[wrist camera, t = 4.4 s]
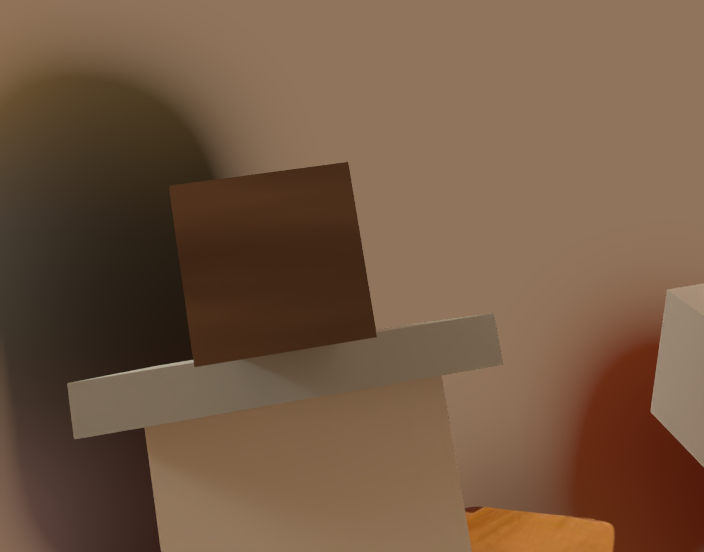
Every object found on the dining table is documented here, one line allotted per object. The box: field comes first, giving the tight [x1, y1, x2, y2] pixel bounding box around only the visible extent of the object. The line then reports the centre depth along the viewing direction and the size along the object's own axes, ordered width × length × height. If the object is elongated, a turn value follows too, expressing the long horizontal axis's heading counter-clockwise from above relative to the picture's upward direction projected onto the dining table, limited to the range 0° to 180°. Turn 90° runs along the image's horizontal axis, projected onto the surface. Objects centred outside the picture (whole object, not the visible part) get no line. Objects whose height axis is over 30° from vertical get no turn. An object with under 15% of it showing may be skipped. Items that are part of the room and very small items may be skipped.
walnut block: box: [169, 162, 377, 367], centre depth 28 cm, size 28×4×4 cm, turn 5°
